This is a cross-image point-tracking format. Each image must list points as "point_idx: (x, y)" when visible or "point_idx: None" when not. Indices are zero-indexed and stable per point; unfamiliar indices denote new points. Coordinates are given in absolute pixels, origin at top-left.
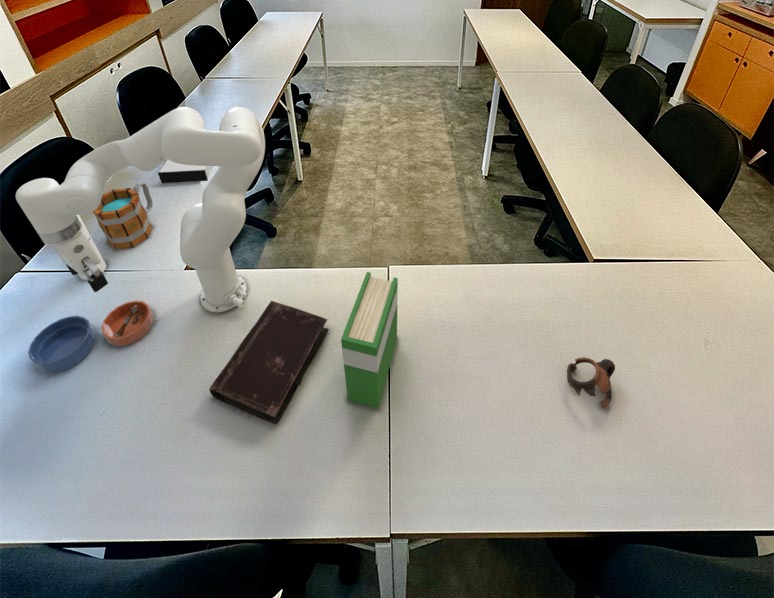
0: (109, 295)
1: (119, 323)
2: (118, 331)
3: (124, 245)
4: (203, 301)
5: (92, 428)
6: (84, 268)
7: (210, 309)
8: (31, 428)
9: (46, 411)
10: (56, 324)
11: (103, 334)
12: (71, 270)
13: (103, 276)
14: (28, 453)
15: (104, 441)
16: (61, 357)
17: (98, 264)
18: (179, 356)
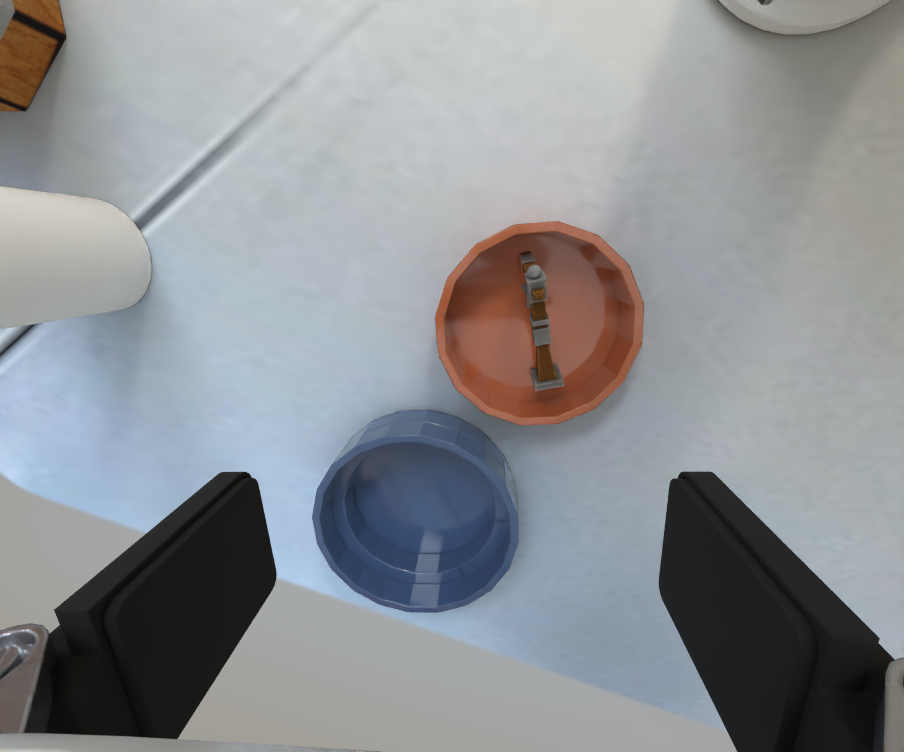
0: (302, 287)
1: (482, 340)
2: (543, 373)
3: (24, 59)
4: (776, 4)
5: None
6: (257, 494)
7: (860, 13)
8: (595, 644)
9: (584, 609)
10: (325, 500)
11: (525, 424)
12: (232, 645)
13: (801, 572)
14: (655, 672)
15: (834, 577)
16: (503, 563)
17: (93, 232)
18: (857, 284)
